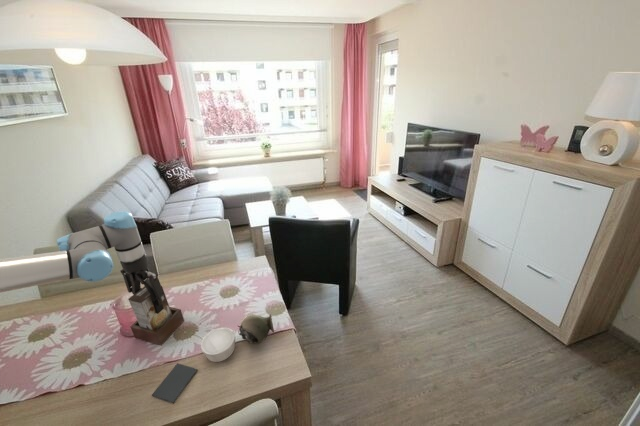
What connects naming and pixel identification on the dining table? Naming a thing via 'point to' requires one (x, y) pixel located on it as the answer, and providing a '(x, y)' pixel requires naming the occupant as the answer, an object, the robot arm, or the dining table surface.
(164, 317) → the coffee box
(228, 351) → the ramekin
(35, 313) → the dining table surface
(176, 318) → the holder
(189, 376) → the mat
